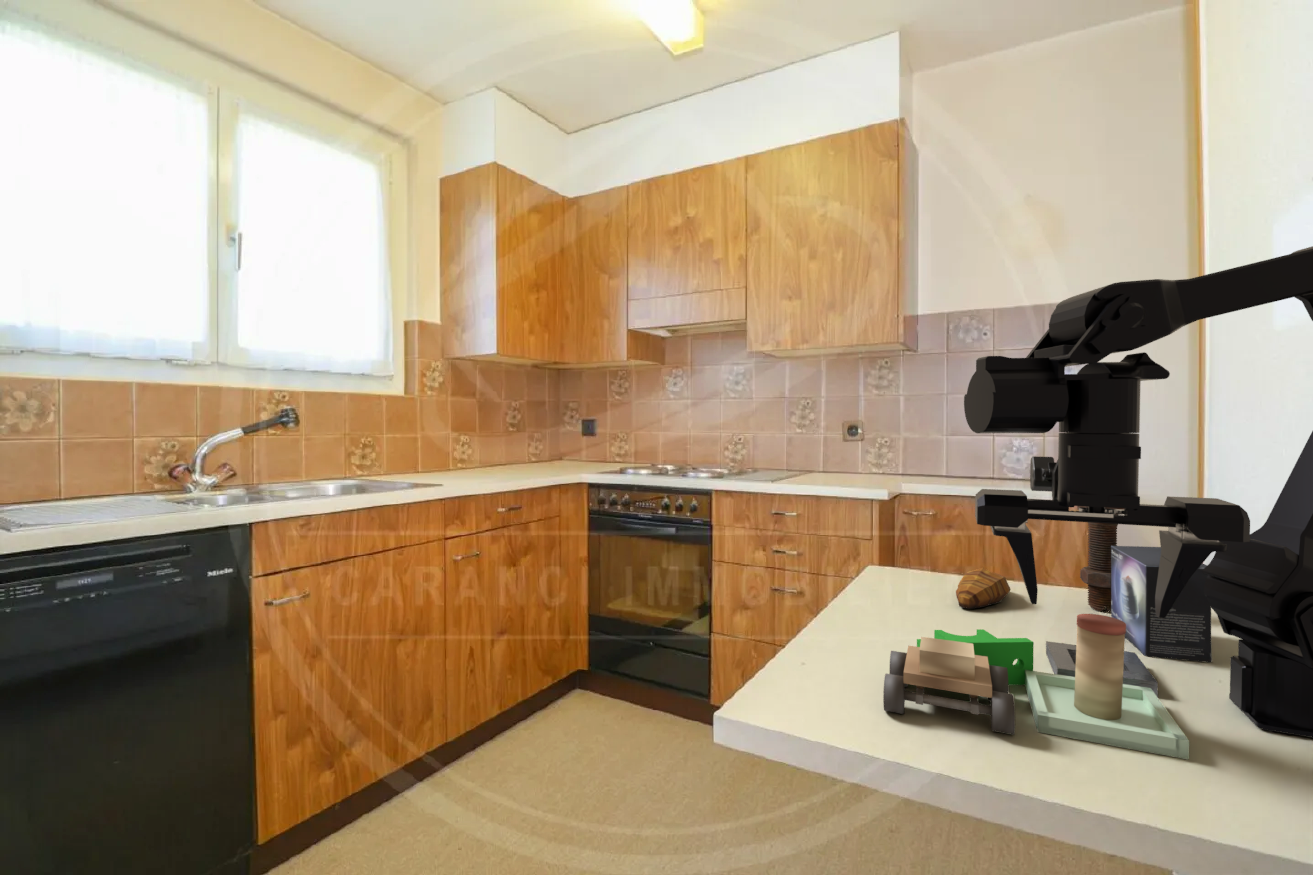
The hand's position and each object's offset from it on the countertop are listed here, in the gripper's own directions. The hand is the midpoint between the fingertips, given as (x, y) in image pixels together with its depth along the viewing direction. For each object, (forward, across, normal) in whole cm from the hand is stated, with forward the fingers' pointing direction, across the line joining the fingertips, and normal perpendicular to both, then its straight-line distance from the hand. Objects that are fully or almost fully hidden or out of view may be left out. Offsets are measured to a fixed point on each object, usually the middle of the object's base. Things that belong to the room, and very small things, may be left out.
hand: (1094, 609), depth 53 cm
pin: (+9, 0, 0) cm, 9 cm away
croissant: (+10, +7, -34) cm, 36 cm away
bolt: (+10, -7, -36) cm, 38 cm away
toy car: (+10, +12, +3) cm, 15 cm away
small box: (+10, -10, -24) cm, 28 cm away
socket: (+10, -2, -11) cm, 15 cm away
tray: (+10, 0, 0) cm, 10 cm away
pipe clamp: (+10, +10, -5) cm, 15 cm away
